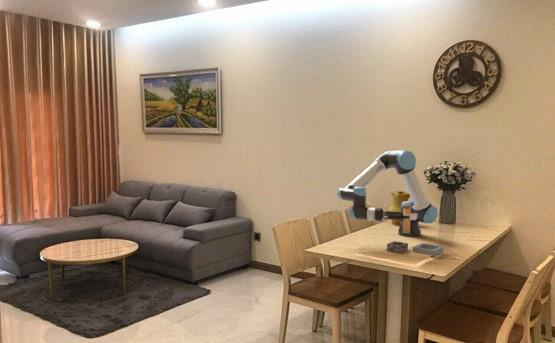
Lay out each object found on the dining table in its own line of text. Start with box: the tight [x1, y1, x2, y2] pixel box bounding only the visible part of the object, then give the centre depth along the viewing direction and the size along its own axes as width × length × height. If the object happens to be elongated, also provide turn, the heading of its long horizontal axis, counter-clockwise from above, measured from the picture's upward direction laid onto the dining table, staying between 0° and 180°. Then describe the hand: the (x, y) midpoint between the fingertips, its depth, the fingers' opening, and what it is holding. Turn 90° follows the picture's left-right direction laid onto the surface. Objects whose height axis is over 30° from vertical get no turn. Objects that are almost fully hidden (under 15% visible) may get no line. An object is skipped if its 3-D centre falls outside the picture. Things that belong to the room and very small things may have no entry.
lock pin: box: [402, 204, 412, 233], centre depth 263 cm, size 6×6×16 cm
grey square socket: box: [383, 240, 412, 255], centre depth 266 cm, size 12×12×6 cm
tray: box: [411, 242, 445, 259], centre depth 264 cm, size 13×13×4 cm
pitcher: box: [388, 190, 411, 226], centre depth 350 cm, size 17×19×25 cm
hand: (416, 216), depth 261 cm, fingers closed on lock pin, 4 cm apart
